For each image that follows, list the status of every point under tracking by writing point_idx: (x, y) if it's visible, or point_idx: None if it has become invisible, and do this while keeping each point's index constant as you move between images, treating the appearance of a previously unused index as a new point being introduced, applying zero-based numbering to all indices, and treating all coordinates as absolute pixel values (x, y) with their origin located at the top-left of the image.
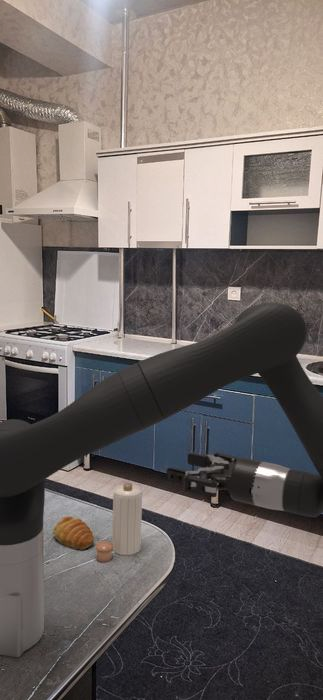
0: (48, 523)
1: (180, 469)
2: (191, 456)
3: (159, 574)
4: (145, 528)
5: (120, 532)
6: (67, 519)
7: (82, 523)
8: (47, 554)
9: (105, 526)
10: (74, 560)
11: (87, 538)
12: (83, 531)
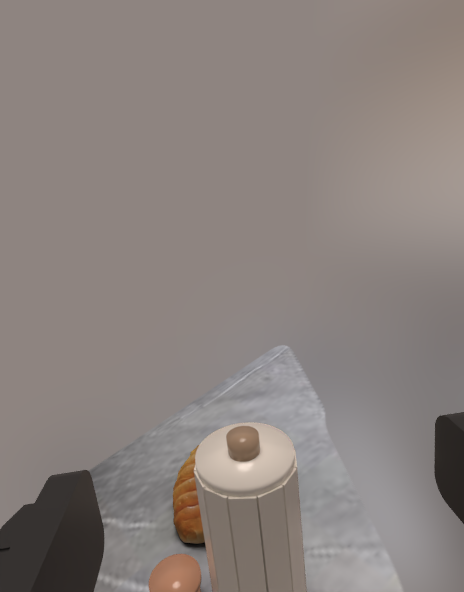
0: None
1: (32, 565)
2: (457, 447)
3: None
4: (390, 587)
5: (210, 575)
6: None
7: None
8: (131, 504)
9: (301, 505)
10: (134, 559)
11: (196, 520)
12: None
